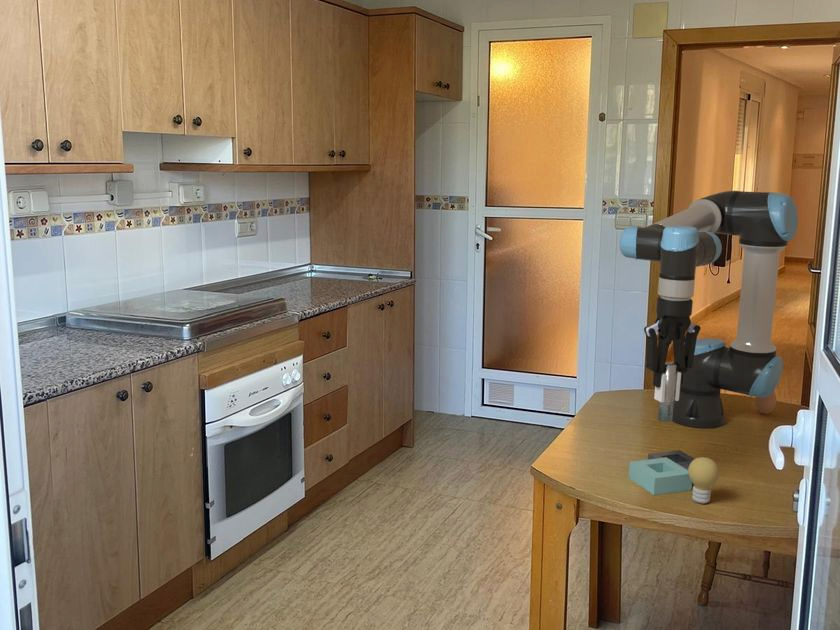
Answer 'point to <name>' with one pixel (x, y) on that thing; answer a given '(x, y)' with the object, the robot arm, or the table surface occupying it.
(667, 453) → the mount
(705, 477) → the light bulb
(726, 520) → the table surface
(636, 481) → the socket
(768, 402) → the egg
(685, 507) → the table surface
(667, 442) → the table surface
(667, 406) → the pin
